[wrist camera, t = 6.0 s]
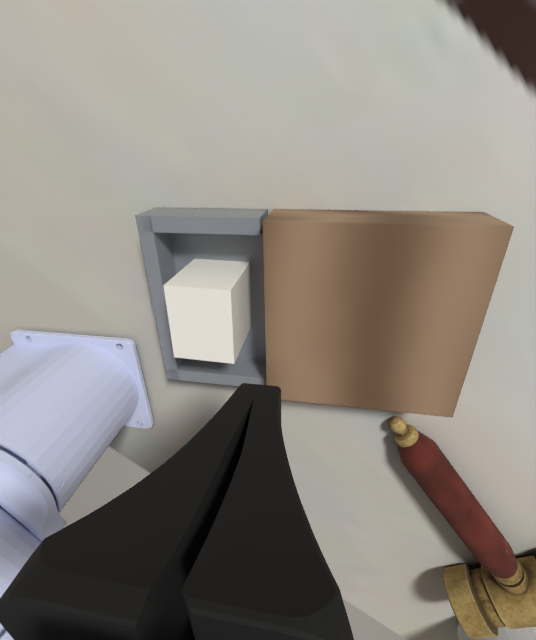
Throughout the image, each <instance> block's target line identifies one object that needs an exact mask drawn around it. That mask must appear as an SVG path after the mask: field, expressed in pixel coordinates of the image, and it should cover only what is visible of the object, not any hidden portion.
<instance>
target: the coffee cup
mask: <svg viewBox="0 0 536 640" xmlns="http://www.w3.org/2000/svg"><path fill="white" fill-rule="evenodd" d="M498 631H499V634H498V636H497V637H487V638H478V639H472V638H470V637H469V636H468V635H467V634H466V632H465V631H464V630H463V629H462V627H461V625H460V624H459V622H458V627H457V635H458V640H536V636H535V634H534V632H533V630H532V629H531V628H530V627H526V628H517V629H508V628H507V627H499V628H498Z"/></svg>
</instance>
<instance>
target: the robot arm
mask: <svg viewBox="0 0 536 640" xmlns="http://www.w3.org/2000/svg"><path fill="white" fill-rule="evenodd" d="M11 339H12V341H13V343H14V345H13V346H11V347H10V348H8V349H7V350H5V351H3V352H2V353H0V640H354V639H353V635H352V631H351V627H350V624H349V620H348V616H347V613H346V610H345V607H344V604H343V600H342V596H341V593H340V589H339V587H338V585H337V583H336V581H335V579H334V577H333V575H332V573H331V571H330V569H329V567H328V565H327V563H326V561H325V559H324V556H323V554H322V552H321V550H320V548H319V545H318V543H317V541H316V539H315V536H314V534H313V532H312V529H311V527H310V524H309V521H308V519H307V516H306V514H305V511H304V509H303V506H302V504H301V501H300V498H299V495H298V492H297V489H296V486H295V483H294V480H293V477H292V473H291V470H290V466H289V462H288V459H287V454H286V450H285V446H284V441H283V435H282V429H281V389H280V388H279V387H278V386H270V385H260V384H249V383H242V384H241V385H240V386H239V387H238V388H237V390H236V391H235V392H234V393H233V395H232V396H231V397H230V398H229V400H228V401H227V402H226V403H225V404H224V405H223V407H222V408H221V409H220V410H219V411H218V412H217V413H216V414H215V415H214V416H213V418H212V419H211V420H210V421H209V422H208V423H207V424H206V425H205V426H204V427H203V428H202V429H201V430H200V431H199V432H198V433H197V434H196V435H195V436H194V437H193V438H192V439H191V440H190V441H189V442H188V443H187V444H186V445H185V446H183V447H182V448H181V449H180V450H179V451H178V452H177V453H176V454H174V455H173V456H172V457H171V458H170V459H168V460H167V461H166V462H165V463H164V464H162V465H161V466H160V467H159V468H157V469H156V470H155V471H153V472H152V473H151V474H149V475H148V476H147V477H145V478H144V479H143V480H142V481H140V482H139V483H137V484H136V485H134V486H133V487H132V488H130V489H129V490H127V491H125V492H124V493H122V494H121V495H119V496H118V497H116V498H115V499H113V500H112V501H110V502H108V503H107V504H105V505H104V506H102V507H101V508H99V509H97V510H95V511H94V512H92V513H90V514H89V515H87V516H85V517H83V518H81V519H80V520H78V521H76V522H75V523H72V524H71V525H69V526H67V527H65V528H64V526H65V525H66V521H65V520H64V519H63V518H62V517H61V516H60V514H59V512H60V511H61V510H62V508H63V507H64V506H65V504H66V503H67V501H68V500H69V499H70V497H71V496H72V495H73V493H74V492H75V491H76V489H77V488H78V487H79V485H80V484H81V483H82V481H83V480H84V478H85V477H86V476H87V474H88V473H89V472H90V470H91V469H92V468H93V466H94V464H96V462H97V461H98V459H99V458H100V457H101V455H102V454H103V453H104V451H105V450H106V449H107V447H108V446H109V445H110V443H111V442H112V440H113V439H114V438H115V436H116V435H117V434H118V432H119V431H120V430H121V428H122V427H123V426H130V427H137V428H145V429H150V428H151V427H152V426H153V424H154V420H153V416H152V412H151V408H150V403H149V399H148V395H147V391H146V386H145V382H144V378H143V374H142V370H141V365H140V361H139V357H138V353H137V348H136V345H135V343H134V342H133V341H132V340H131V339H127V338H114V337H102V336H90V335H77V334H65V333H53V332H40V331H28V330H15V331H13V332H12V333H11ZM120 344H121V345H122V346H123V347H121V346H120Z"/></svg>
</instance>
